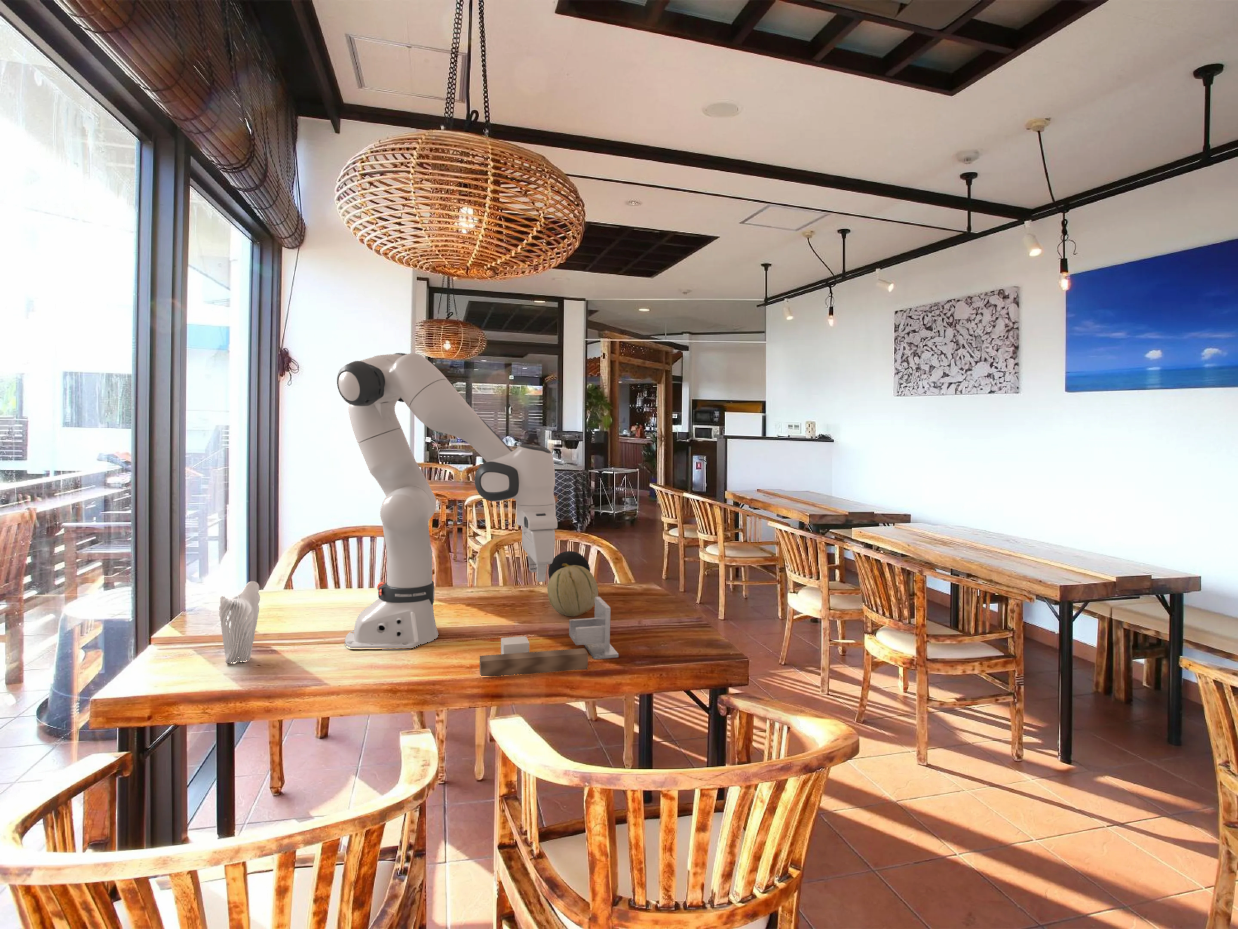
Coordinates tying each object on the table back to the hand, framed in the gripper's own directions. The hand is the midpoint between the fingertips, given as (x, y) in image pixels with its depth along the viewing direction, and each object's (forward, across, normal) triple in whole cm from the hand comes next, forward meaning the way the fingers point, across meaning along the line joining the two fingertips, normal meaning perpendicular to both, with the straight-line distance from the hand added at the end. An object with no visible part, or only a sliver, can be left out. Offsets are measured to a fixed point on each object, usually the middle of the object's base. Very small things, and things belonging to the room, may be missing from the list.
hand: (537, 576), depth 154 cm
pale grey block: (+21, -7, -4) cm, 22 cm away
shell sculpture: (+19, -18, -65) cm, 70 cm away
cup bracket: (+21, -7, +15) cm, 27 cm away
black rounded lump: (+21, -55, +20) cm, 62 cm away
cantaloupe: (+21, -37, +17) cm, 46 cm away
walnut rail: (+21, +2, -2) cm, 21 cm away
